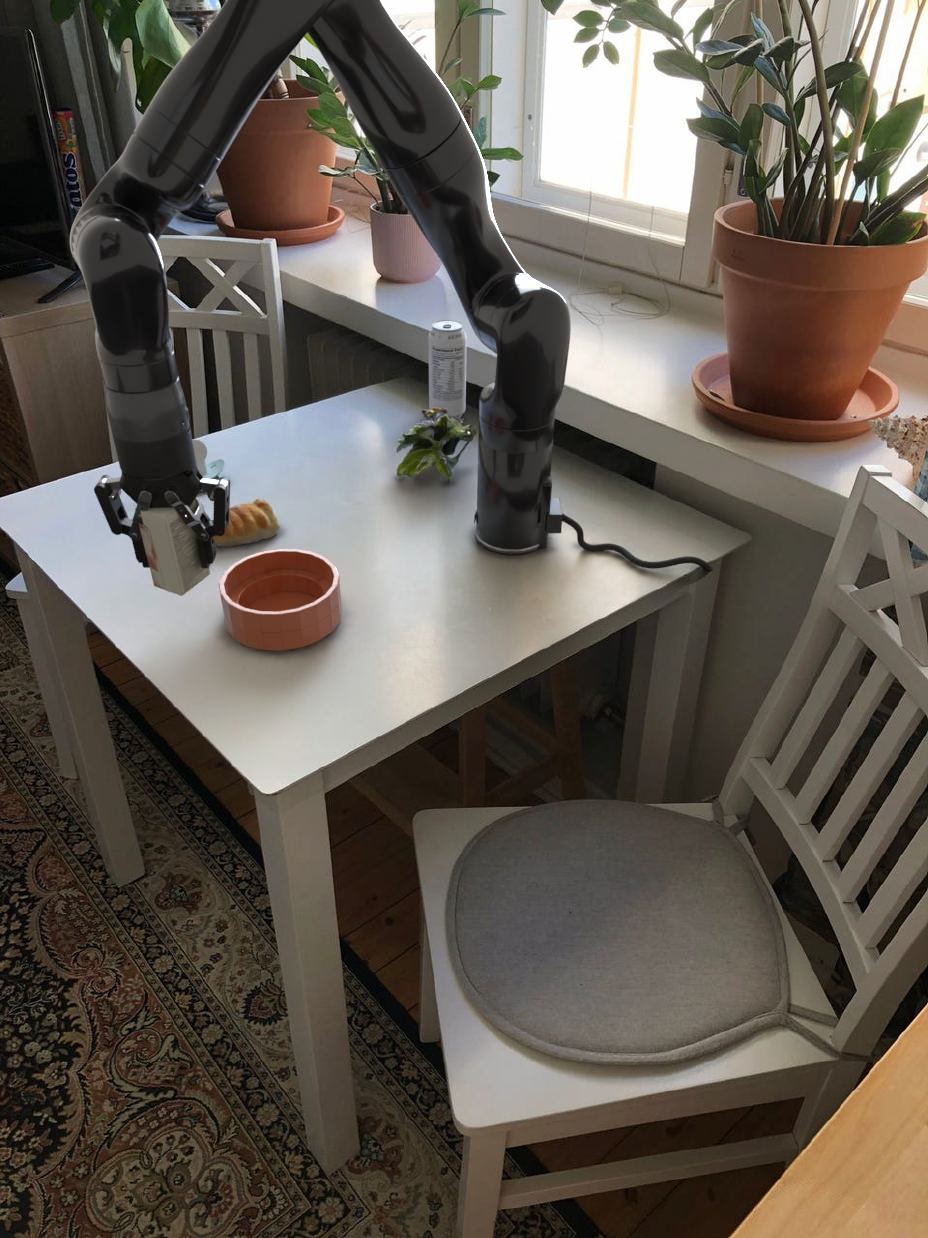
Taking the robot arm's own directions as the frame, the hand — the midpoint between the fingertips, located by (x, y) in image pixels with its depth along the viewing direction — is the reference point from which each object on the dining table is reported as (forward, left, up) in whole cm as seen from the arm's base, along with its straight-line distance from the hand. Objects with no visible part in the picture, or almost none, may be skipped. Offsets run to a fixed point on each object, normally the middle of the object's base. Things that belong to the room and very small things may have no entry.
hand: (178, 563), depth 103 cm
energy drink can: (-29, -58, -8) cm, 65 cm away
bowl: (-11, 0, -7) cm, 13 cm away
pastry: (-3, -19, -8) cm, 21 cm away
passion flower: (-28, -37, -8) cm, 47 cm away
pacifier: (+6, -33, -8) cm, 34 cm away
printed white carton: (0, 0, -2) cm, 2 cm away
